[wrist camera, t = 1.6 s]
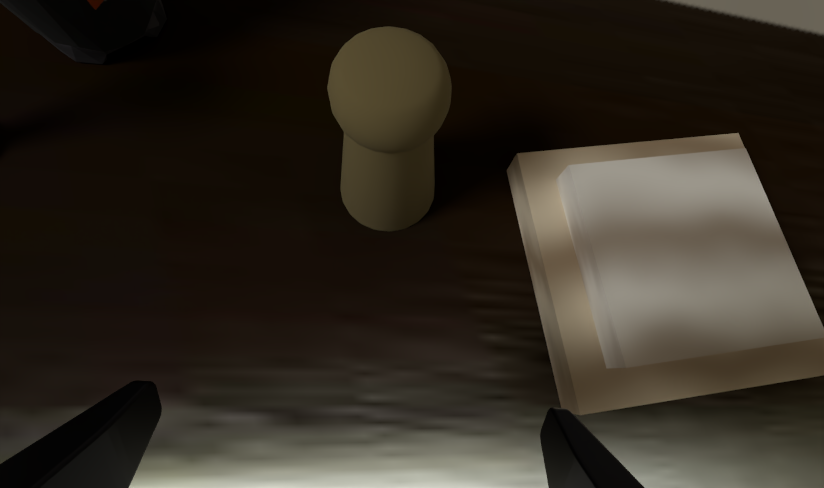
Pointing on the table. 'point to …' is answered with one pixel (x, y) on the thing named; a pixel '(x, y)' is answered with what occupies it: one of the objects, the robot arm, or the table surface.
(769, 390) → the table surface
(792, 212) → the table surface
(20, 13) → the portable speaker
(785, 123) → the table surface
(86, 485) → the robot arm
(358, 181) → the brown ball-topped peg
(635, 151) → the stepped square base
